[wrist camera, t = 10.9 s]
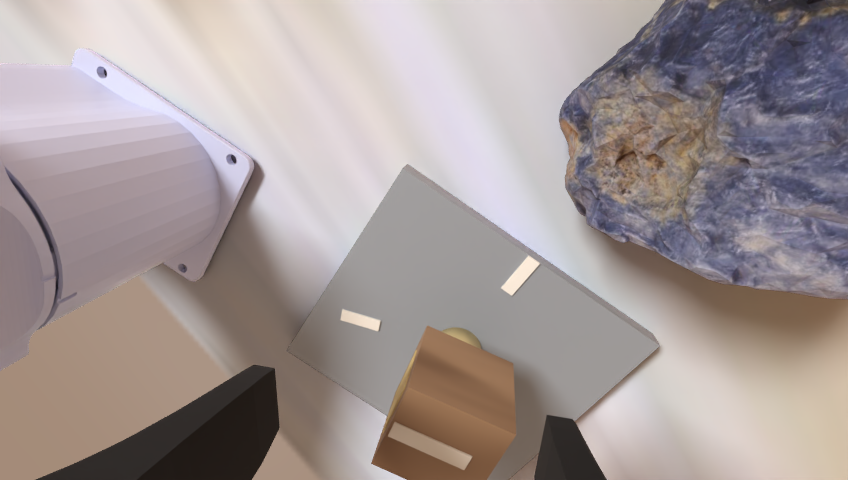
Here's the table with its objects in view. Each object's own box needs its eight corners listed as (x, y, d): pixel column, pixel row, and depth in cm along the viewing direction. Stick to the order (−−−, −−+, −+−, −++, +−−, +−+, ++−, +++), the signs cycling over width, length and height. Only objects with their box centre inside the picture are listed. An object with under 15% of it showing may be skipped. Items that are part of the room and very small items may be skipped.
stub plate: (294, 340, 24) (267, 374, 21) (407, 164, 19) (392, 178, 17) (498, 473, 25) (498, 522, 22) (652, 333, 20) (676, 373, 17)
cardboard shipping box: (474, 427, 20) (468, 508, 16) (394, 391, 20) (369, 464, 16) (513, 363, 18) (516, 436, 14) (426, 324, 18) (406, 387, 15)
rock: (1036, -98, 12) (1409, 81, 5) (805, 191, 19) (855, 398, 13) (613, -103, 15) (557, 8, 9) (560, 147, 22) (510, 297, 16)
